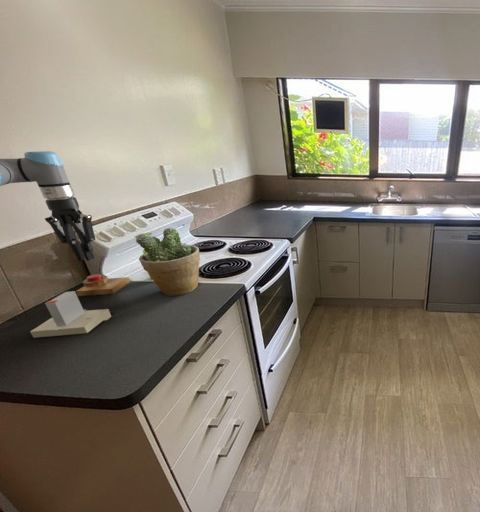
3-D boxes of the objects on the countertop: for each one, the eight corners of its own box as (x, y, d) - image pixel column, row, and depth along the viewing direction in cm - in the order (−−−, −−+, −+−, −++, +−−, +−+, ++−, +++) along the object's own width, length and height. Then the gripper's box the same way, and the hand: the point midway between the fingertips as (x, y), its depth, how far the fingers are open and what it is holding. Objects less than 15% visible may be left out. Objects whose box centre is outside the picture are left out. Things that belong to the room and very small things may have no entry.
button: (85, 282, 111) (83, 278, 110) (93, 278, 115) (91, 274, 114) (97, 281, 111) (95, 277, 111) (104, 277, 115) (103, 273, 114)
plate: (32, 341, 84) (27, 332, 83) (65, 319, 95) (61, 311, 93) (86, 336, 86) (82, 327, 85) (112, 315, 97) (109, 307, 96)
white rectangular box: (76, 313, 92) (65, 291, 89) (84, 312, 93) (74, 290, 90) (56, 326, 86) (44, 302, 83) (66, 325, 86) (54, 302, 83)
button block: (76, 296, 108) (72, 287, 107) (96, 284, 118) (92, 275, 116) (113, 293, 110) (109, 284, 109) (130, 281, 119) (127, 273, 118)
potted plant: (170, 279, 121) (152, 222, 112) (216, 277, 123) (202, 221, 114) (140, 302, 105) (116, 237, 95) (194, 299, 106) (175, 235, 97)
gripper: (24, 200, 96) (55, 264, 105) (76, 199, 98) (101, 262, 107) (45, 196, 103) (72, 256, 112) (92, 195, 105) (115, 254, 114)
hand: (86, 259), depth 110 cm, fingers open, 2 cm apart
